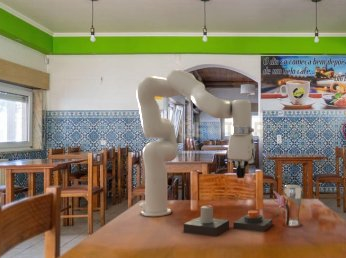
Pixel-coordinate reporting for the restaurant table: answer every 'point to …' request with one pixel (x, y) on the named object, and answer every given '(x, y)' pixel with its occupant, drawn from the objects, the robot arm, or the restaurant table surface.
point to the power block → (253, 223)
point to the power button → (253, 214)
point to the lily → (279, 201)
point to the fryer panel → (206, 227)
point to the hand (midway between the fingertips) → (240, 177)
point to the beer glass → (292, 204)
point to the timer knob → (206, 214)
